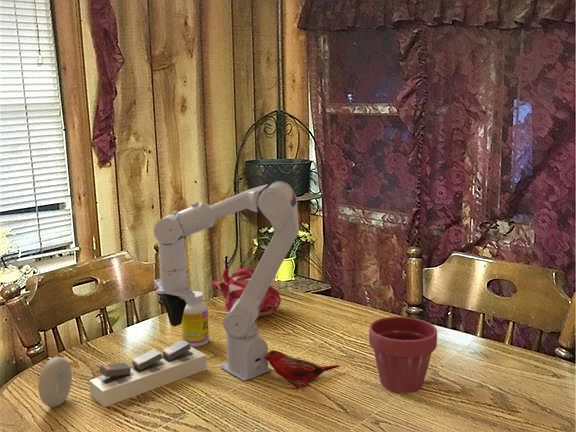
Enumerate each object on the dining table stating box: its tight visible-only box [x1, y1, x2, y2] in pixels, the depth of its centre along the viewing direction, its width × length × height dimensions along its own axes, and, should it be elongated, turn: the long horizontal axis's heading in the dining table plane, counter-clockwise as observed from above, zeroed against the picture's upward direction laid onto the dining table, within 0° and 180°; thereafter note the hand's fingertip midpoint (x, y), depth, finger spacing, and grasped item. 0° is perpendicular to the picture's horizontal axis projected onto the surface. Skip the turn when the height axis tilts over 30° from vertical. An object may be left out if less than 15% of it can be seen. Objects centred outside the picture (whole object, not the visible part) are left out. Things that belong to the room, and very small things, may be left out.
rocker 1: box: [98, 362, 131, 377], centre depth 132 cm, size 3×6×2 cm, turn 131°
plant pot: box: [368, 316, 438, 394], centre depth 133 cm, size 14×14×13 cm
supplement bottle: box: [181, 290, 210, 348], centre depth 156 cm, size 7×7×13 cm
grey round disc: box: [37, 356, 73, 408], centre depth 127 cm, size 10×4×10 cm, turn 173°
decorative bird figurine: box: [263, 350, 340, 388], centre depth 137 cm, size 3×18×10 cm
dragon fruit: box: [211, 267, 282, 318], centre depth 175 cm, size 14×12×20 cm
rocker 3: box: [161, 339, 191, 360], centre depth 141 cm, size 3×6×2 cm, turn 131°
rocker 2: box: [131, 348, 162, 370], centre depth 137 cm, size 3×6×2 cm, turn 131°
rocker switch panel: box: [88, 347, 208, 408], centre depth 136 cm, size 6×25×4 cm, turn 131°
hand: (176, 324), depth 143 cm, fingers closed
